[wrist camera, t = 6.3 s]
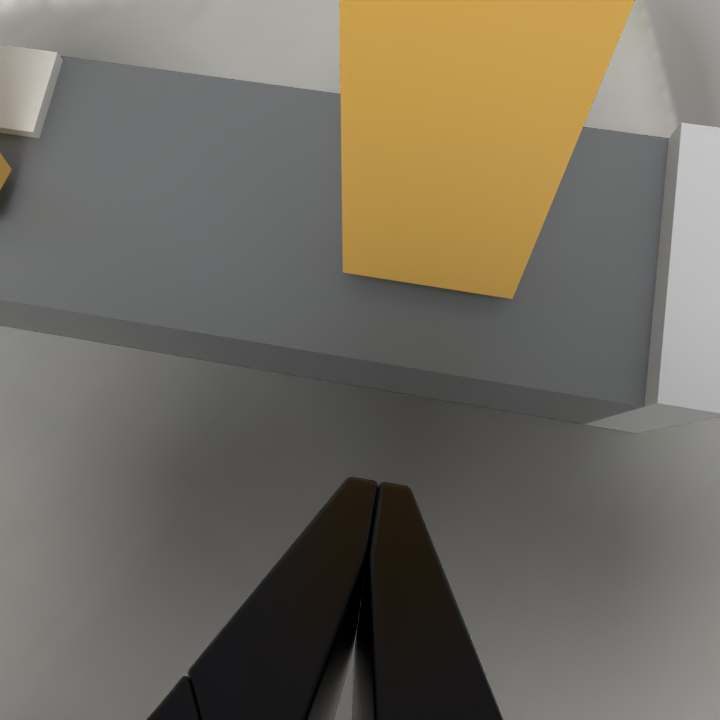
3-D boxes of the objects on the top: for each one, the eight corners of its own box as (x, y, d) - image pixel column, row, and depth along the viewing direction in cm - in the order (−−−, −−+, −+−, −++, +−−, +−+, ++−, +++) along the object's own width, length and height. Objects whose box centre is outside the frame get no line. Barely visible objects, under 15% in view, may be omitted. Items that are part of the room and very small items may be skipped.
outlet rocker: (513, 299, 14) (674, -89, 7) (341, 273, 15) (336, -126, 8) (517, 245, 15) (664, -153, 8) (354, 220, 15) (360, -184, 8)
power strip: (636, 433, 19) (730, 415, 14) (-158, 298, 21) (-336, 238, 16) (656, 220, 20) (748, 131, 15) (-94, 111, 22) (-238, -1, 17)
